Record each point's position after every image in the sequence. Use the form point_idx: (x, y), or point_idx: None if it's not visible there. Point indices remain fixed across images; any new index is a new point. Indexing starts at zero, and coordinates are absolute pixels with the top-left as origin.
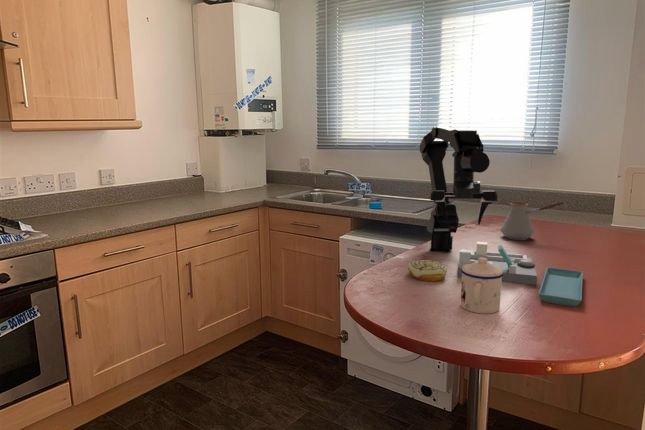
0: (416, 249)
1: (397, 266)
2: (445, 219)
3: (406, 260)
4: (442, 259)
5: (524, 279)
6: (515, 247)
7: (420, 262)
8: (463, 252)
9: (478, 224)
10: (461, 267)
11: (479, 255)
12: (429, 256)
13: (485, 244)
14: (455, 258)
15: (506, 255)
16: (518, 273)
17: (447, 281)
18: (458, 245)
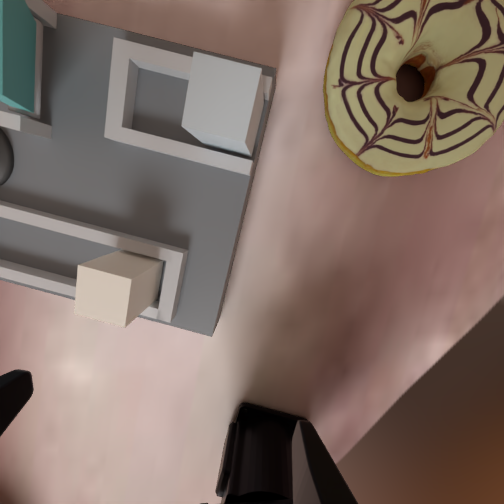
0: (352, 440)
1: (492, 221)
2: (328, 467)
3: (428, 305)
4: (283, 323)
5: None
6: (22, 458)
7: (463, 95)
8: (238, 64)
9: (23, 371)
10: None
11: (146, 244)
12: (324, 358)
13: (87, 267)
14: (233, 337)
15: None
16: None
17: (329, 16)
18: (195, 481)
